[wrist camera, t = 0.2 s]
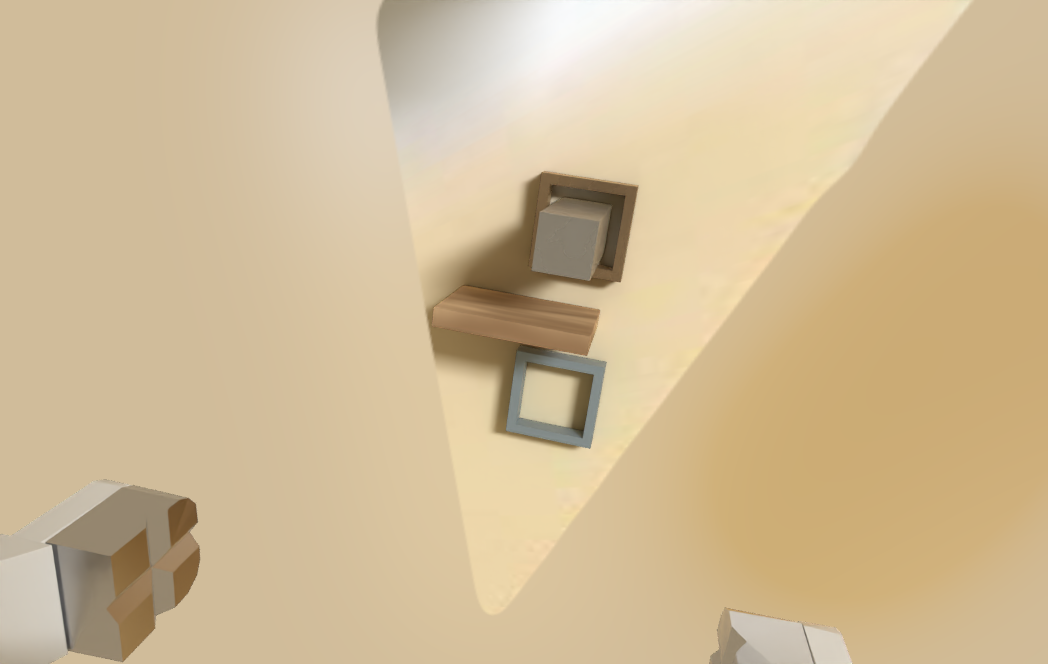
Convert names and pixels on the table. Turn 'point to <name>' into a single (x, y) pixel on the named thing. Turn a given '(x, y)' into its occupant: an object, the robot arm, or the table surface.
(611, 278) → the key socket
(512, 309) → the board
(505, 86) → the table surface
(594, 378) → the keeper socket
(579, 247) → the block
